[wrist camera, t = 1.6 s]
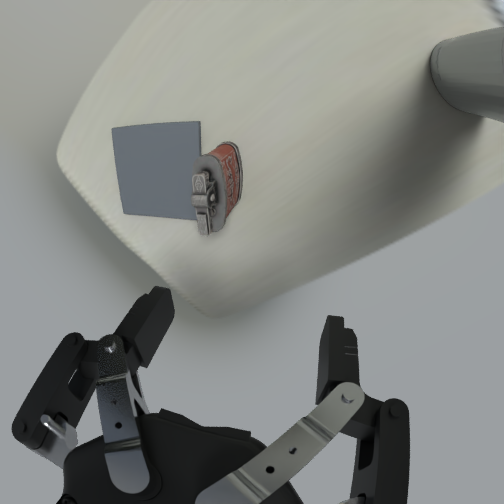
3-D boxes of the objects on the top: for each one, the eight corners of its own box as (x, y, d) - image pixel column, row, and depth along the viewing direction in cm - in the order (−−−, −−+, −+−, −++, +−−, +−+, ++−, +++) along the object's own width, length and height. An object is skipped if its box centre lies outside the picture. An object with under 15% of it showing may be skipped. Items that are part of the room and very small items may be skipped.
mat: (200, 121, 30) (198, 121, 29) (204, 218, 37) (203, 220, 36) (114, 127, 32) (111, 128, 31) (125, 212, 39) (123, 213, 38)
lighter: (213, 141, 31) (176, 163, 22) (241, 141, 30) (213, 162, 22) (218, 203, 35) (188, 243, 27) (244, 204, 34) (220, 245, 26)
